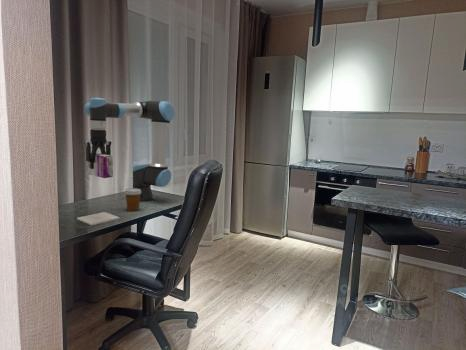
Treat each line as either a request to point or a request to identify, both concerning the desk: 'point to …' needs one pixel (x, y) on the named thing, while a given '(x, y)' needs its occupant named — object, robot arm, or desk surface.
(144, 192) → the robot arm
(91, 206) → the desk surface
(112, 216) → the rubber mat
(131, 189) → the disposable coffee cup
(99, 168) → the candy bar box
